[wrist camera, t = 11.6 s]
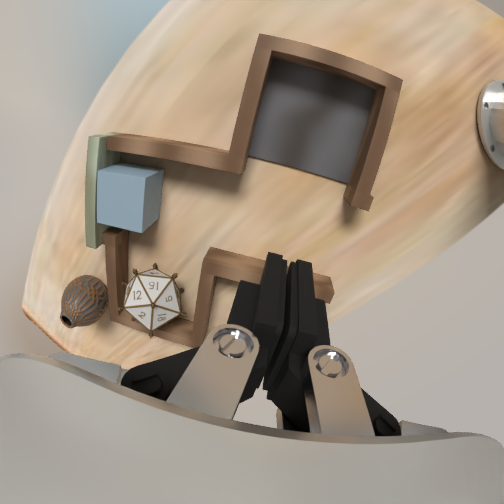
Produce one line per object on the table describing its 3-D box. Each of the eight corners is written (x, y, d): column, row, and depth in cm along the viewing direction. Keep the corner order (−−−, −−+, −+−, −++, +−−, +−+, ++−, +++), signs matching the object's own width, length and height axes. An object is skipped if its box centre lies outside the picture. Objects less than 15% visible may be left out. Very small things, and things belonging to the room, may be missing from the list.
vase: (116, 280, 37) (85, 316, 29) (112, 312, 40) (86, 348, 32) (80, 261, 36) (46, 292, 29) (79, 293, 39) (50, 325, 32)
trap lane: (393, 85, 23) (413, 80, 18) (294, 353, 40) (295, 378, 35) (134, 35, 22) (112, 25, 18) (110, 302, 39) (94, 321, 35)
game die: (181, 278, 40) (180, 346, 35) (125, 272, 37) (119, 341, 32) (192, 250, 33) (191, 334, 28) (122, 242, 30) (112, 327, 25)
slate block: (164, 168, 30) (145, 178, 25) (159, 217, 32) (141, 233, 28) (120, 162, 30) (97, 170, 25) (118, 208, 32) (97, 222, 28)
